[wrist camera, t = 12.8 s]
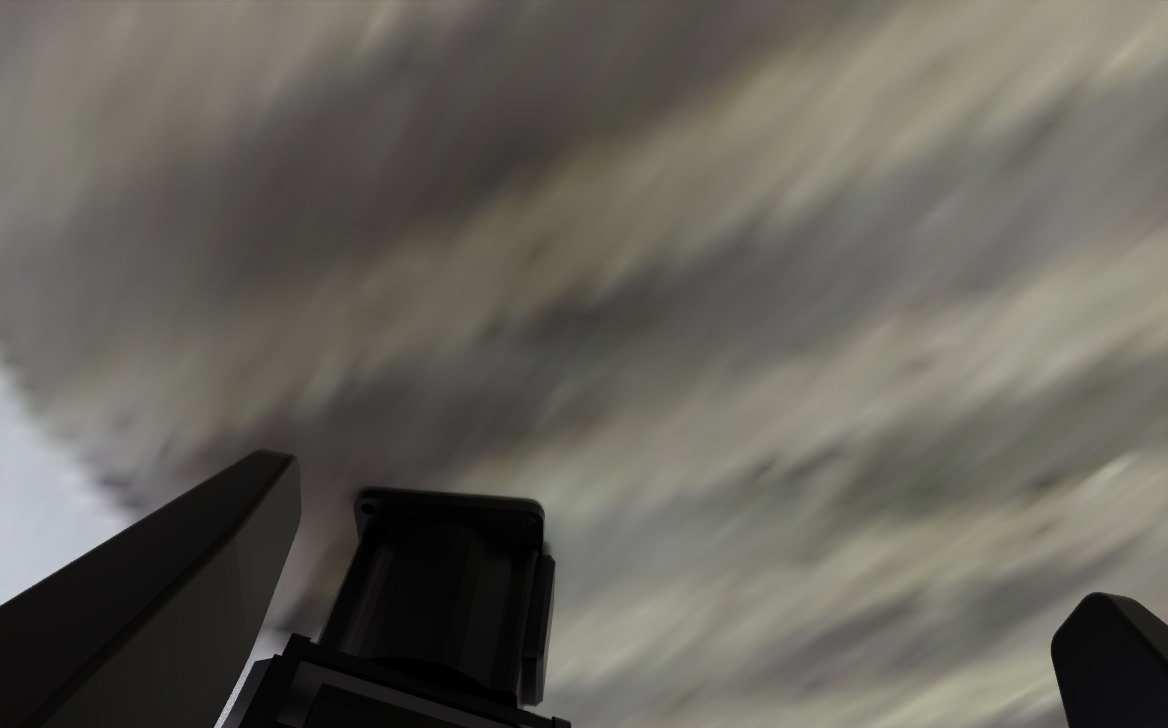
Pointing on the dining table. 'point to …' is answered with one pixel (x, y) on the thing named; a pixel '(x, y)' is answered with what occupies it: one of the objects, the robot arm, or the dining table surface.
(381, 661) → the robot arm
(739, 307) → the dining table surface
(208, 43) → the dining table surface
